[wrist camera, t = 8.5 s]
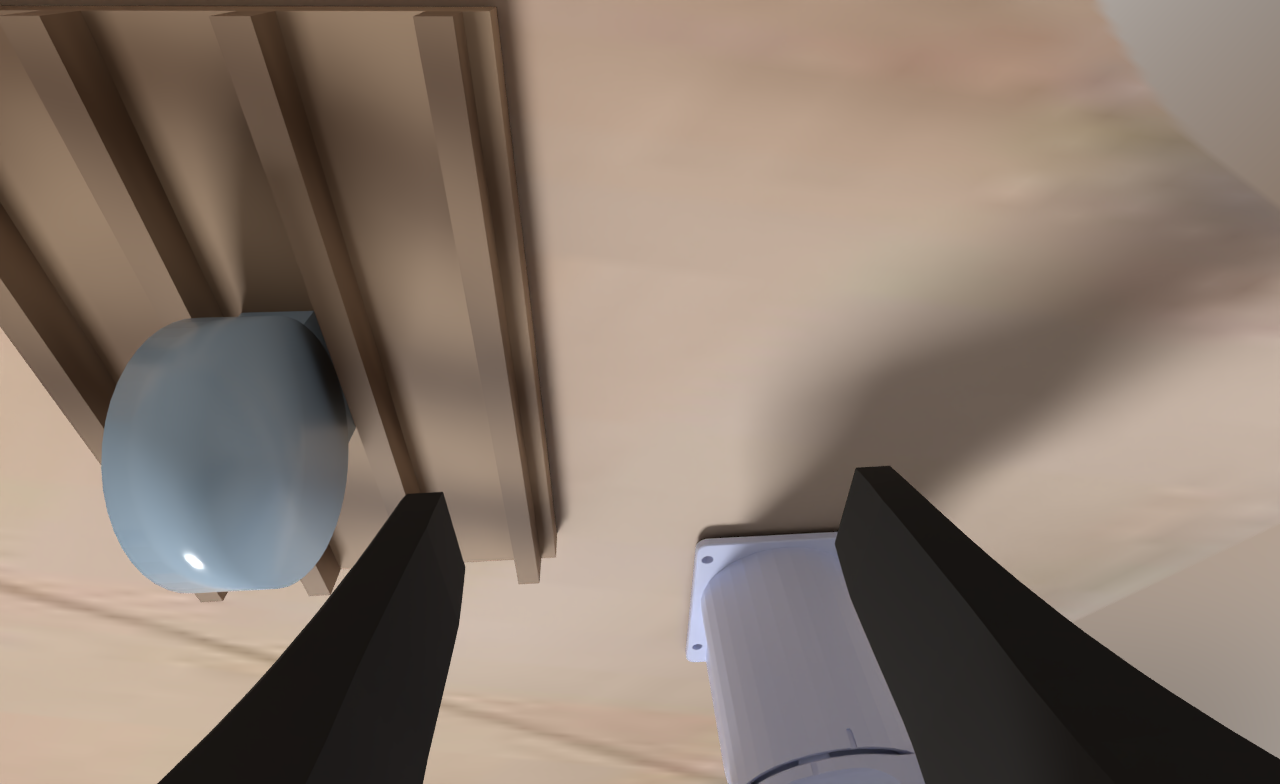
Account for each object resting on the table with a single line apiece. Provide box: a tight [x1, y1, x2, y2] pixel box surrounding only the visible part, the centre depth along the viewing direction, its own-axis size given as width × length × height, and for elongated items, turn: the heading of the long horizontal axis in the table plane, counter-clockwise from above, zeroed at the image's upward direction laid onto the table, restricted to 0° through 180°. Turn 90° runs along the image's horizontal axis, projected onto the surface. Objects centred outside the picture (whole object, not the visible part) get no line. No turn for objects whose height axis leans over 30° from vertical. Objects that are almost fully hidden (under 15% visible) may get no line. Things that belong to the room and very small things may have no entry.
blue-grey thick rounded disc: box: [101, 311, 356, 593], centre depth 16 cm, size 7×2×7 cm, turn 0°
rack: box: [0, 6, 557, 602], centre depth 19 cm, size 19×14×2 cm
